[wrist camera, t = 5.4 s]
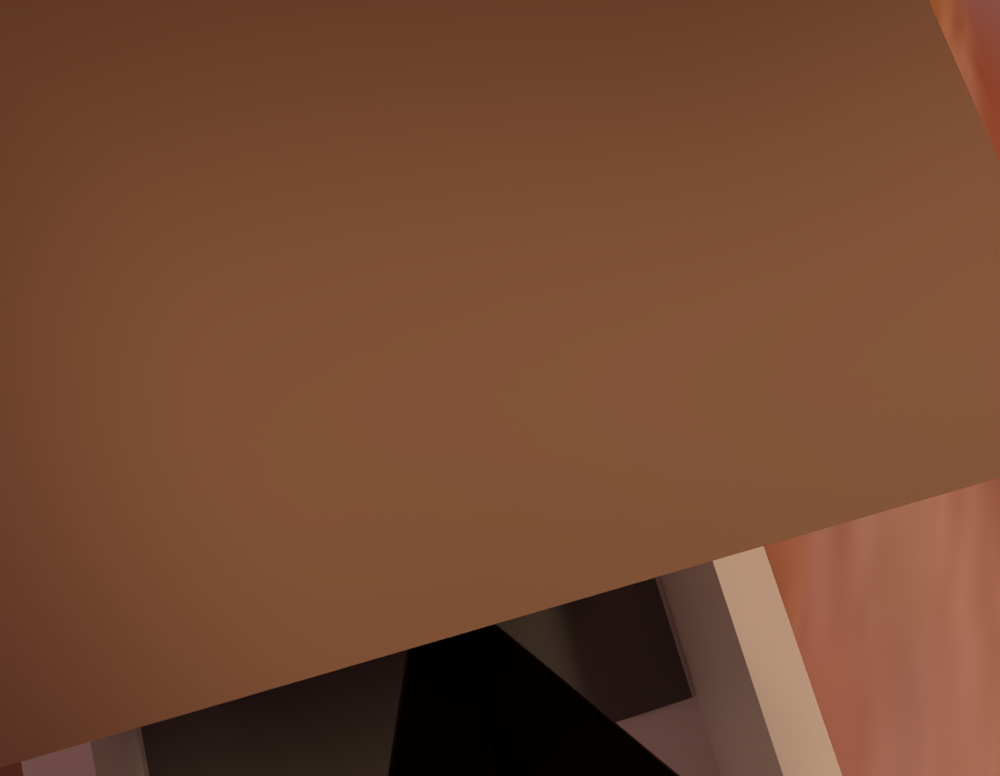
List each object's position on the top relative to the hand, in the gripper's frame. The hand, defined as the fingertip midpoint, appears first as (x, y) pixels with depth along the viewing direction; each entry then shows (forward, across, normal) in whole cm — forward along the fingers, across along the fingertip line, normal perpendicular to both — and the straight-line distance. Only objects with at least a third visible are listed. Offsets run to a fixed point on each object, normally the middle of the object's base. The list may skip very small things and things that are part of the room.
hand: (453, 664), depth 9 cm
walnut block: (+6, 0, +2) cm, 7 cm away
